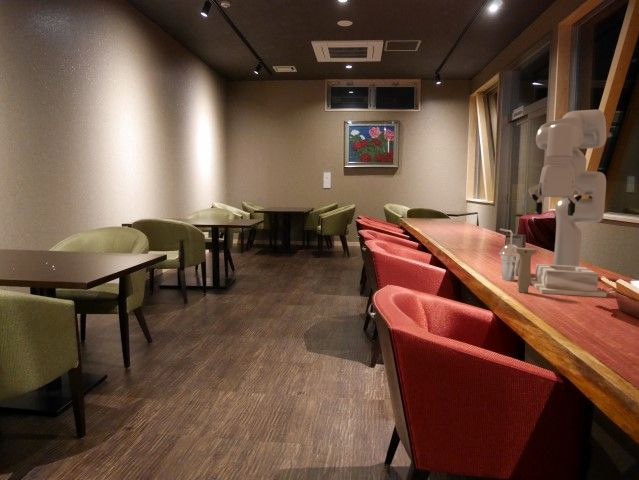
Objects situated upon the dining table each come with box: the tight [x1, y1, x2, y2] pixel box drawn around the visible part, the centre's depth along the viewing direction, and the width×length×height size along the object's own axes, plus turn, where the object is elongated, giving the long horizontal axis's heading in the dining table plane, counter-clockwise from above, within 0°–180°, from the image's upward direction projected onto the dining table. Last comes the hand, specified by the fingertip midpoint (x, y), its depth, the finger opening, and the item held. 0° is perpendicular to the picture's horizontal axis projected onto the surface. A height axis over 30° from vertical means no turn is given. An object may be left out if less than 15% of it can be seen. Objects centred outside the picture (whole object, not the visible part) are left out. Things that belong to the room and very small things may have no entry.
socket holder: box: [530, 263, 607, 298], centre depth 173 cm, size 22×20×7 cm
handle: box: [516, 247, 537, 294], centre depth 165 cm, size 5×6×15 cm
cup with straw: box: [498, 228, 520, 282], centre depth 188 cm, size 8×9×20 cm
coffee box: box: [504, 233, 527, 276], centre depth 202 cm, size 9×6×16 cm
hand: (554, 215), depth 160 cm, fingers open, 9 cm apart
